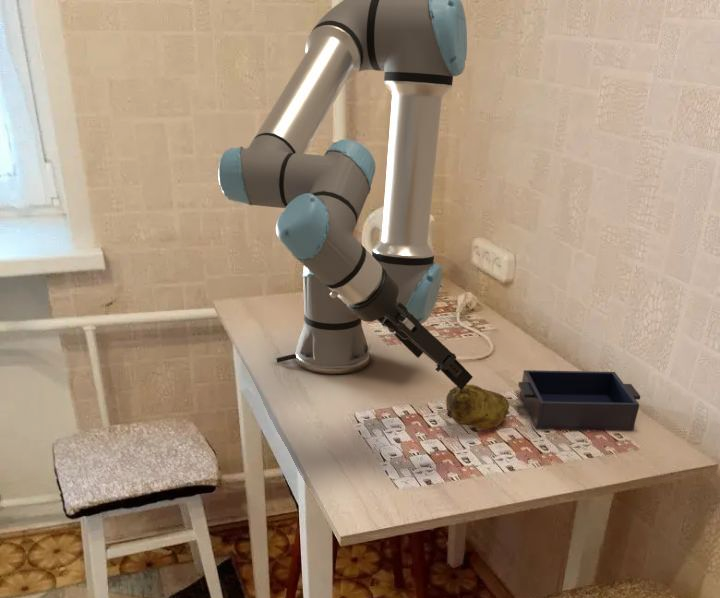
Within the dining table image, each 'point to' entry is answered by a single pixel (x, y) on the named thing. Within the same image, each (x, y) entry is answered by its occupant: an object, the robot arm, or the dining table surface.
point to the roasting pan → (579, 400)
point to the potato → (476, 407)
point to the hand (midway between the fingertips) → (443, 366)
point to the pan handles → (529, 393)
